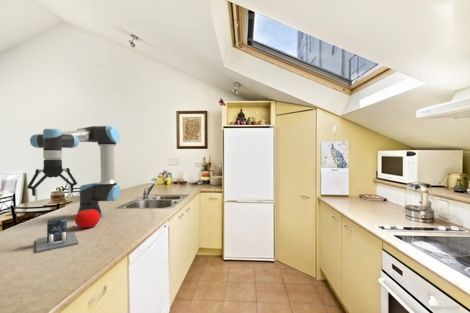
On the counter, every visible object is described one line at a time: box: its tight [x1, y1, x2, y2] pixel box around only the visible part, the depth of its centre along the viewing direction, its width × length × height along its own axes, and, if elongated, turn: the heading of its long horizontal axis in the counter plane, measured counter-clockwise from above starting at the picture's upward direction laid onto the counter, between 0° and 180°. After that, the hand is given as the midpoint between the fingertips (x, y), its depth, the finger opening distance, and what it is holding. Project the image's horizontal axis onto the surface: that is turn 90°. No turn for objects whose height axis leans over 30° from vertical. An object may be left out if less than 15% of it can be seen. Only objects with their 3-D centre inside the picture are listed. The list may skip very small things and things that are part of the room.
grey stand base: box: [35, 231, 79, 254], centre depth 119 cm, size 16×20×6 cm
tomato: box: [74, 209, 101, 229], centre depth 144 cm, size 12×13×11 cm
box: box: [46, 216, 68, 243], centre depth 119 cm, size 8×6×11 cm
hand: (53, 200), depth 121 cm, fingers open, 13 cm apart
